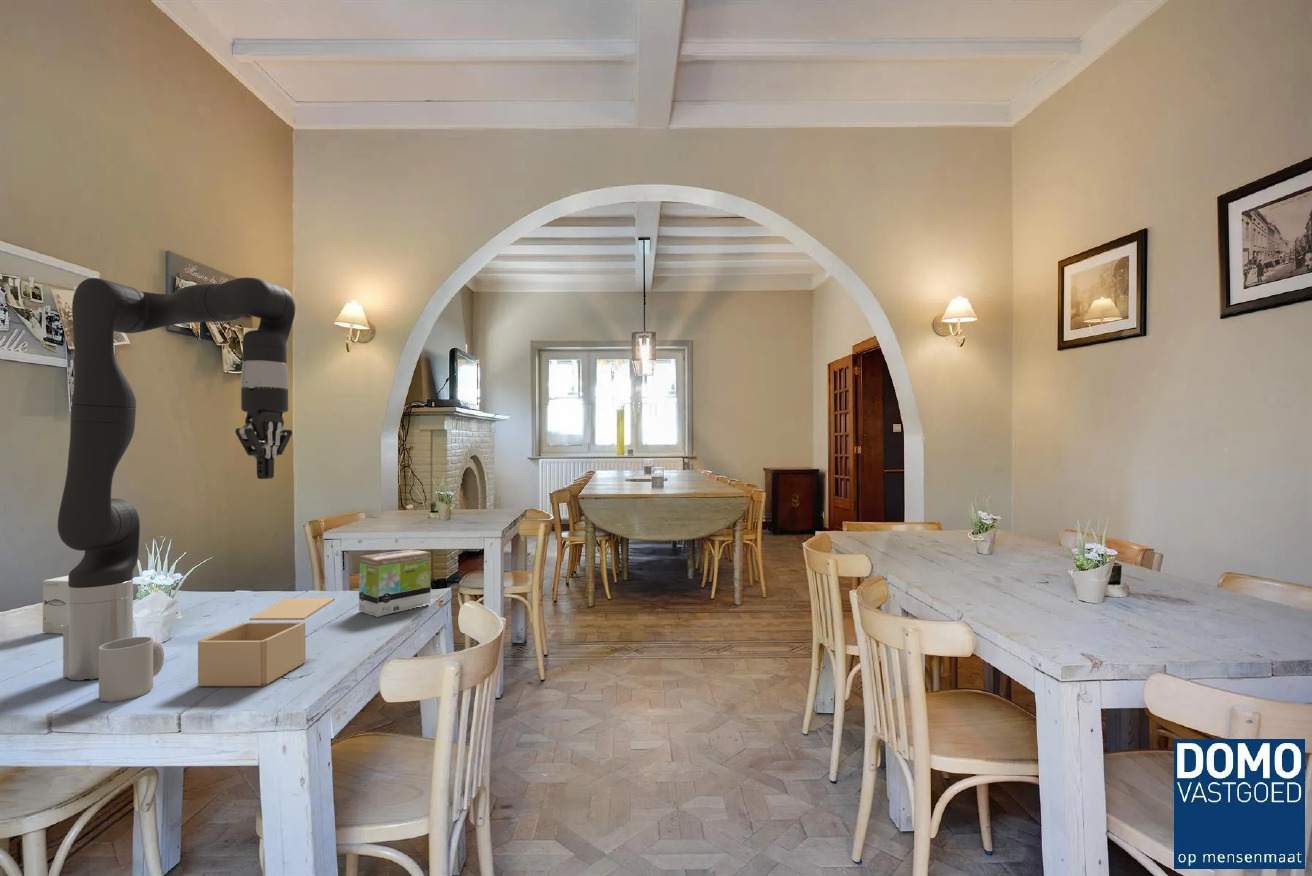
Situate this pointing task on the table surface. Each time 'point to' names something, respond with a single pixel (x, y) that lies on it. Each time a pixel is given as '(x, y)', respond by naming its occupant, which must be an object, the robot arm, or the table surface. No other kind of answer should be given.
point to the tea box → (394, 581)
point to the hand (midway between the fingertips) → (265, 478)
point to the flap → (293, 609)
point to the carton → (250, 654)
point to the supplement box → (55, 605)
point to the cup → (128, 667)
